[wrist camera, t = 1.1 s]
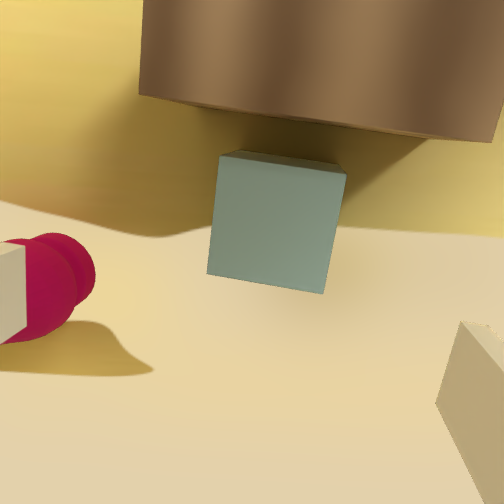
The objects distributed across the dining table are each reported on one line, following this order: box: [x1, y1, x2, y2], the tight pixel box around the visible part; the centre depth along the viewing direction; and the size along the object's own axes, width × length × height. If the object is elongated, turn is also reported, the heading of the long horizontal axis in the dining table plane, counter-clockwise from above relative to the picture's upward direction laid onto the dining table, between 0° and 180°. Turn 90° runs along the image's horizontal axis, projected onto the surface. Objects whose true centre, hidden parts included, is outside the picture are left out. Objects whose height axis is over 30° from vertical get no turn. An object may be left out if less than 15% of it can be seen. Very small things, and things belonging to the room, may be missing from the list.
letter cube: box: [207, 150, 347, 294], centre depth 27 cm, size 7×7×7 cm
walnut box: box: [139, 0, 504, 143], centre depth 23 cm, size 16×6×10 cm, turn 82°
